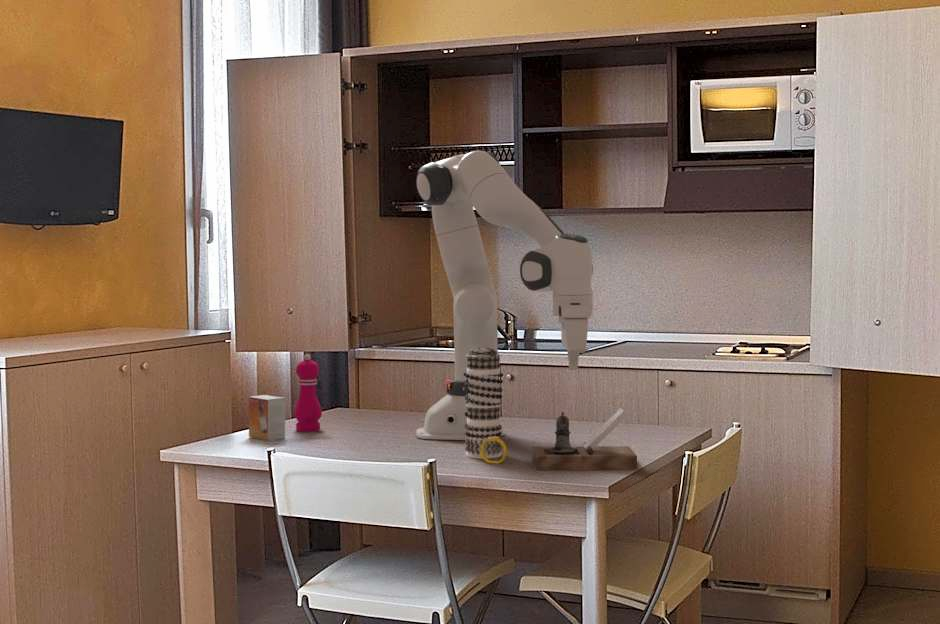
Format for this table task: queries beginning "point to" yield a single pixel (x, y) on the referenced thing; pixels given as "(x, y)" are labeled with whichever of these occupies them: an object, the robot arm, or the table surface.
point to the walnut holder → (586, 459)
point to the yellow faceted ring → (496, 438)
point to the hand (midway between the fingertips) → (573, 369)
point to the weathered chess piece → (562, 437)
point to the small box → (267, 417)
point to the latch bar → (605, 429)
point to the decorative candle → (483, 402)
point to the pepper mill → (307, 397)
